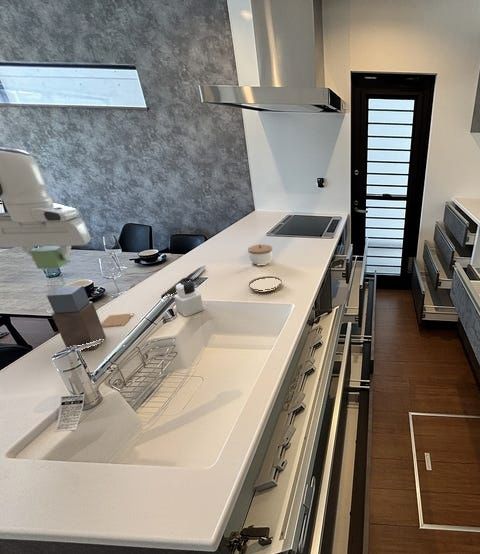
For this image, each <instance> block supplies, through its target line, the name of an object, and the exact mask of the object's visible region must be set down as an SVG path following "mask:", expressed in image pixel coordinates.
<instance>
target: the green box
mask: <svg viewBox="0 0 480 554" xmlns="http://www.w3.org/2000/svg"><path fill="white" fill-rule="evenodd" d="M63 250H64V249H61V248H60V246H42V247H38V248H36V249H34V251H32V252H31V254H32V256H33V259H34V261H35V262H34V261H33V262H34V263H35V265H36V268H37V269H38V270H39V269H40V270H41V269H60V268H62V267H63V266H65V265H67V264H70V262H71V259H69V260H64V261H62V260H61V259H60V257H59V255H60V254H62V253H63ZM33 259H32V260H33Z"/></svg>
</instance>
